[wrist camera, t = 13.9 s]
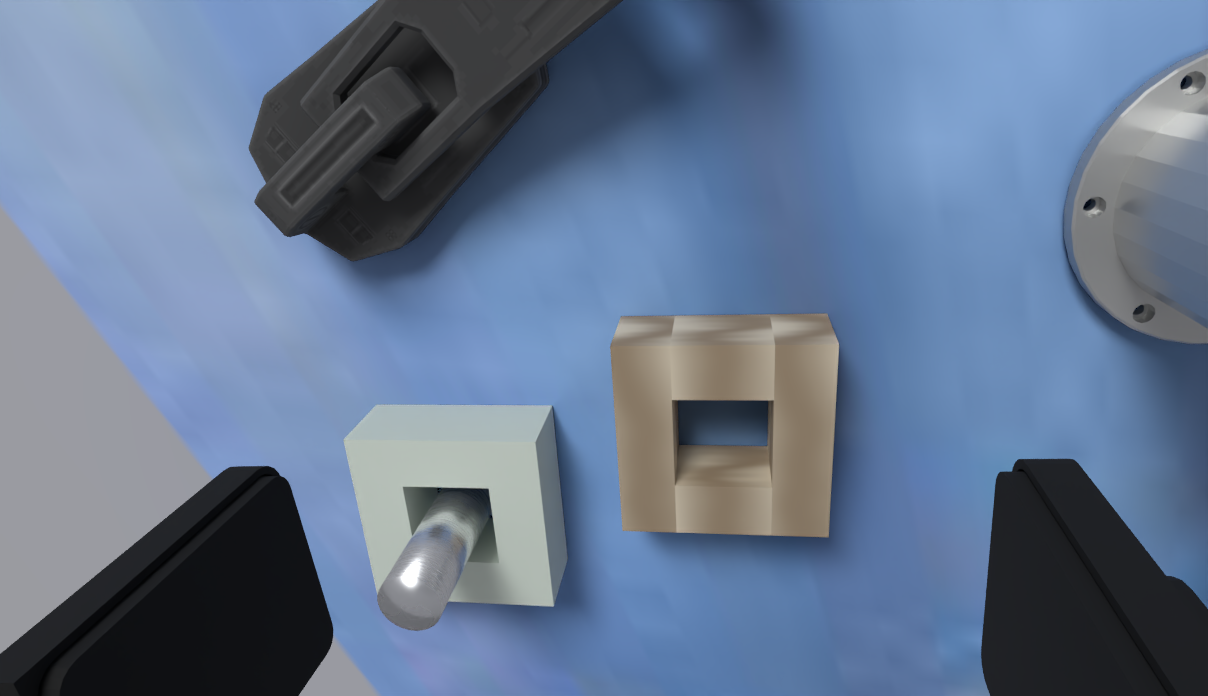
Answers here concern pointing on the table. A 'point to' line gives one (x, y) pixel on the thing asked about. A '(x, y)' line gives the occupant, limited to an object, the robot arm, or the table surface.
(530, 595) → the sage socket block
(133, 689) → the robot arm
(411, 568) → the metal pin
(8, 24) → the table surface
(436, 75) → the zipper pull
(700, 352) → the birch mount block
